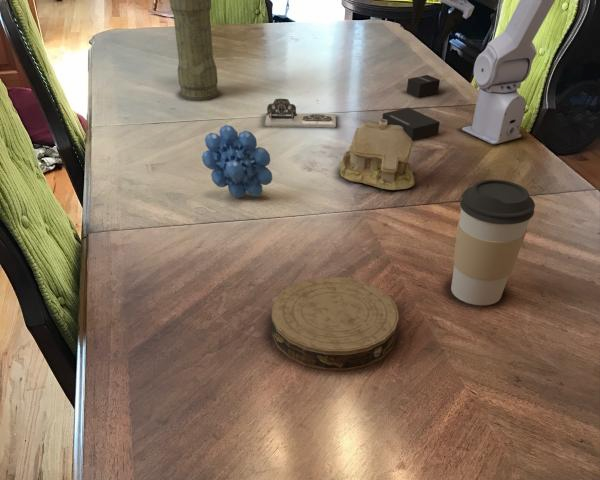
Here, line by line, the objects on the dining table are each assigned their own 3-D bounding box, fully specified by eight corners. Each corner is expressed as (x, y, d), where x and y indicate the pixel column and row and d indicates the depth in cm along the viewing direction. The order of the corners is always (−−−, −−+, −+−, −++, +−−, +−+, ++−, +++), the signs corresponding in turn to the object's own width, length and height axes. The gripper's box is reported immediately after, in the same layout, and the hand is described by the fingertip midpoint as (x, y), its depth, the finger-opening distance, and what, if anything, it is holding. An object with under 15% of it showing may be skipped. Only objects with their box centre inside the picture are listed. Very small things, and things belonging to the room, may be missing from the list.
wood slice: (246, 329, 79) (244, 310, 77) (331, 282, 87) (332, 263, 85) (336, 389, 71) (338, 370, 68) (421, 331, 79) (425, 312, 77)
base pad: (437, 134, 128) (439, 121, 126) (411, 141, 125) (413, 128, 123) (407, 119, 134) (408, 107, 132) (381, 125, 131) (382, 112, 129)
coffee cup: (462, 266, 90) (485, 166, 80) (520, 289, 86) (551, 185, 76) (431, 293, 85) (450, 189, 75) (491, 318, 81) (520, 212, 70)
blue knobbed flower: (201, 207, 103) (193, 134, 95) (208, 189, 108) (201, 118, 100) (270, 210, 102) (268, 137, 94) (274, 192, 107) (272, 121, 99)
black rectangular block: (437, 93, 146) (440, 79, 144) (418, 97, 144) (420, 83, 142) (425, 88, 149) (427, 74, 147) (406, 92, 147) (408, 78, 145)
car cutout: (264, 126, 130) (264, 103, 127) (266, 115, 135) (266, 93, 132) (335, 127, 130) (336, 105, 127) (335, 116, 135) (336, 94, 132)
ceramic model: (419, 169, 115) (427, 113, 108) (411, 194, 107) (419, 136, 100) (346, 160, 118) (349, 105, 111) (332, 184, 110) (335, 127, 103)
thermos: (225, 100, 142) (211, -94, 118) (173, 101, 141) (148, -94, 117) (225, 87, 148) (211, -99, 124) (175, 88, 147) (152, -99, 123)
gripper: (491, -21, 125) (464, 42, 137) (434, -57, 127) (412, 8, 139) (473, -8, 122) (447, 55, 134) (415, -46, 124) (395, 20, 136)
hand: (428, 32), depth 137 cm, fingers open, 7 cm apart
